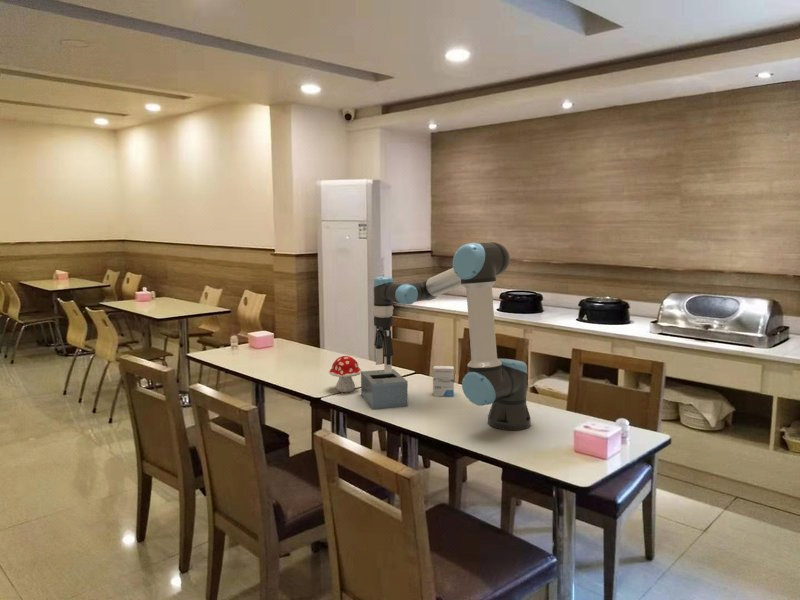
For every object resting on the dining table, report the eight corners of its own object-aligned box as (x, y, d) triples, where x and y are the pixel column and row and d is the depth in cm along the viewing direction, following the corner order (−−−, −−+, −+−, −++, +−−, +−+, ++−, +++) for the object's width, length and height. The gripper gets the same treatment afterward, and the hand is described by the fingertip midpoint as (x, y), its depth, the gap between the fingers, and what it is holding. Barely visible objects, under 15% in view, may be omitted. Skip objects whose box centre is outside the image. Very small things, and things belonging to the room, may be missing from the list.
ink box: (453, 393, 249) (454, 365, 247) (453, 396, 244) (453, 368, 242) (433, 392, 250) (433, 365, 248) (432, 396, 245) (433, 368, 243)
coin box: (407, 406, 231) (407, 381, 230) (372, 409, 227) (372, 384, 226) (393, 392, 250) (393, 369, 249) (361, 394, 246) (361, 371, 245)
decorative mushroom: (323, 393, 248) (322, 358, 246) (338, 384, 261) (337, 351, 259) (353, 396, 243) (352, 361, 241) (367, 388, 256) (366, 354, 254)
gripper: (401, 320, 223) (401, 375, 226) (384, 310, 247) (384, 360, 250) (382, 321, 221) (382, 376, 224) (366, 311, 245) (367, 361, 248)
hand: (383, 368), depth 237 cm, fingers open, 13 cm apart
